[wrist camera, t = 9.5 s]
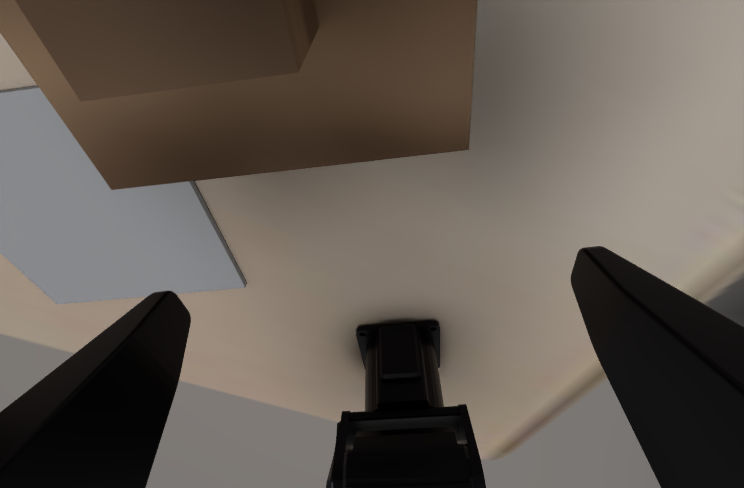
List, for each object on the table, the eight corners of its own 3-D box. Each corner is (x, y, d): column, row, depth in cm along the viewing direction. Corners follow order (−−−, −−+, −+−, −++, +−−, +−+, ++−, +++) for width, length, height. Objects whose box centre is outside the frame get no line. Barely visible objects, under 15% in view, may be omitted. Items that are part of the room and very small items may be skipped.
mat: (246, 283, 26) (245, 287, 25) (60, 299, 27) (56, 304, 26) (136, 71, 16) (132, 74, 16) (-143, 110, 17) (-152, 114, 17)
